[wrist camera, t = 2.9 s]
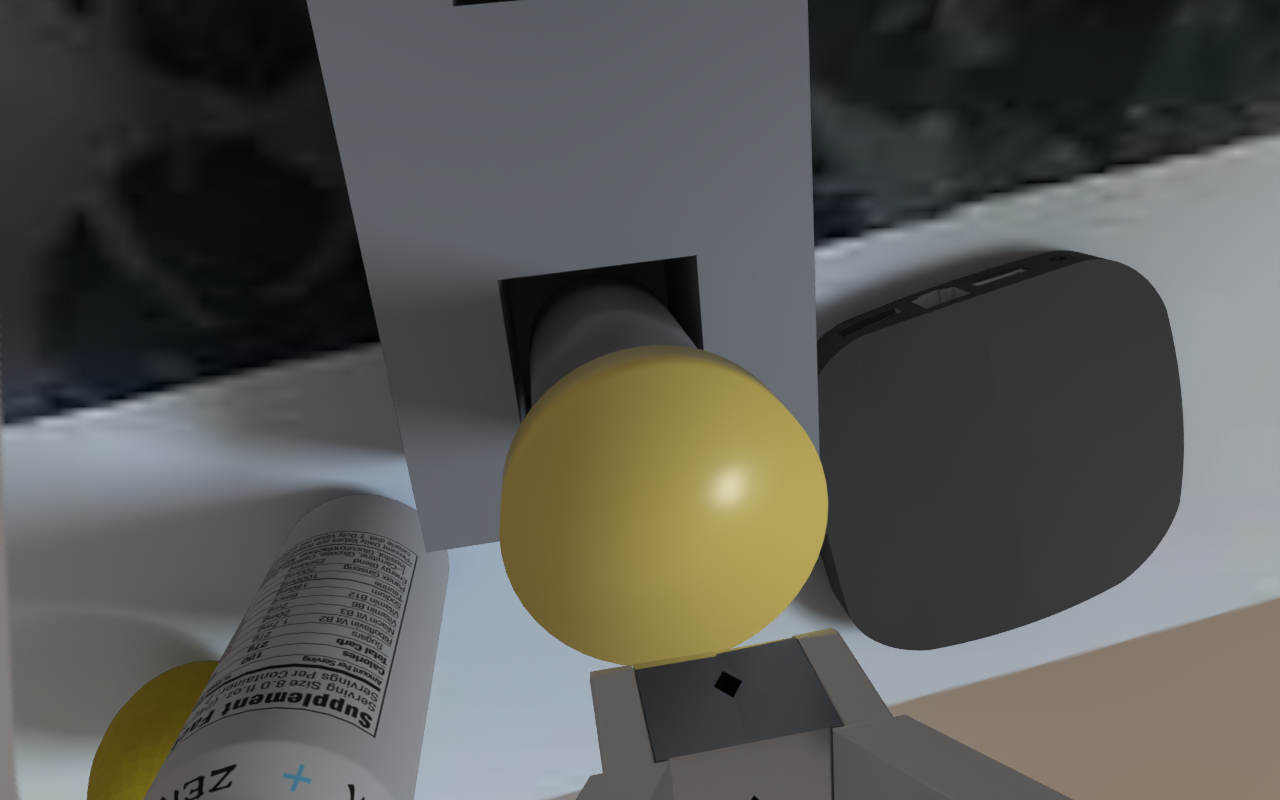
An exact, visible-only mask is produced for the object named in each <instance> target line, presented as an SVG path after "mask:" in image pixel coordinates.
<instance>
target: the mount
mask: <svg viewBox="0 0 1280 800" xmlns="http://www.w3.org/2000/svg"><path fill="white" fill-rule="evenodd" d="M307 5H308V10H309V14H310V19H311V24H312V28H313V33H314V37H315V42H316V47H317V51H318V56H319V60H320V65H321V70H322V74H323V79H324V83H325V88H326V93H327V97H328V102H329V106H330V111H331V116H332V120H333V125H334V130H335V134H336V139H337V143H338V148H339V153H340V157H341V162H342V166H343V171H344V176H345V180H346V185H347V189H348V194H349V199H350V203H351V208H352V212H353V217H354V222H355V226H356V231H357V235H358V240H359V245H360V249H361V254H362V259H363V263H364V268H365V272H366V277H367V282H368V286H369V291H370V295H371V300H372V305H373V309H374V314H375V318H376V323H377V328H378V332H379V337H380V341H381V346H382V351H383V355H384V360H385V364H386V369H387V374H388V378H389V383H390V388H391V392H392V397H393V401H394V406H395V411H396V415H397V420H398V424H399V429H400V434H401V438H402V443H403V447H404V452H405V457H406V461H407V466H408V470H409V475H410V480H411V484H412V489H413V494H414V498H415V503H416V507H417V512H418V517H419V521H420V526H421V530H422V535H423V540H424V544H425V549H426V553H427V552H433V551H440V550H446V549H452V548H459V547H465V546H472V545H478V544H484V543H491V542H497V541H500V535H499V532H500V510H501V490H502V476H503V471H504V465H505V460H506V457H507V454H508V451H509V448H510V445H511V442H512V440H513V438H514V436H515V434H516V432H517V430H518V428H519V426H520V424H521V422H522V421H523V420H524V418H525V417H526V415H527V414H528V412H529V411H530V409H531V408H532V404H531V377H530V351H529V345H530V335H531V330H532V326H533V323H534V320H535V318H536V316H537V314H538V312H539V310H540V309H541V307H542V306H543V304H544V303H545V302H546V301H547V299H548V298H549V297H550V296H551V295H552V294H553V293H555V292H556V291H557V290H558V289H559V288H561V287H562V286H564V285H565V284H567V283H569V282H571V281H573V280H575V279H578V278H581V277H584V276H589V275H594V274H615V275H620V276H625V277H627V278H630V279H633V280H635V281H637V282H639V283H641V284H643V285H644V286H646V287H647V288H649V289H650V290H651V291H652V292H653V293H654V294H656V295H657V296H658V298H659V299H660V300H661V301H662V302H663V304H664V305H665V306H666V308H667V309H668V310H669V312H670V313H671V314H672V316H673V317H674V318H675V320H676V321H677V322H678V324H679V325H680V326H681V328H682V329H683V330H684V331H685V333H686V334H687V335H688V337H689V338H690V339H691V341H692V342H693V343H694V345H695V346H696V347H697V349H701V350H704V351H707V352H710V353H713V354H716V355H719V356H722V357H724V358H726V359H728V360H730V361H732V362H734V363H736V364H738V365H740V366H741V367H742V368H744V369H745V370H747V371H748V372H750V373H751V374H753V375H754V376H755V377H756V378H757V379H759V380H760V381H761V382H762V383H763V384H764V385H765V386H766V387H767V388H768V389H769V390H770V391H771V392H772V393H773V394H774V395H775V396H776V398H777V399H778V400H779V401H780V402H781V403H782V404H783V405H784V406H785V407H786V409H787V410H788V411H789V412H790V413H791V414H792V415H793V417H794V418H795V419H796V420H797V421H798V423H799V424H800V425H801V426H802V428H803V429H804V430H805V432H806V433H807V435H808V437H809V438H810V440H811V442H812V443H813V445H814V447H815V449H816V451H817V454H818V456H819V459H820V452H819V414H818V376H817V338H816V300H815V262H814V224H813V186H812V148H811V110H810V72H809V34H808V0H307Z"/></svg>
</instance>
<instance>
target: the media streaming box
mask: <svg viewBox="0 0 1280 800" xmlns="http://www.w3.org/2000/svg"><path fill="white" fill-rule="evenodd" d="M1016 266H1017V267H1016ZM1006 269H1007V270H1006ZM1003 270H1004V271H1003ZM996 272H997V273H996ZM993 273H994V274H993ZM990 274H991V275H990ZM987 275H988V276H987ZM977 278H978V279H977ZM974 279H975V280H974ZM971 280H972V281H971ZM817 376H818V414H819V452H820V461H821V464H822V467H823V471H824V475H825V479H826V484H827V494H828V518H827V526H826V531H825V536H824V541H823V544H822V547H821V550H820V553H821V557H822V560H823V563H824V566H825V569H826V572H827V575H828V578H829V581H830V584H831V587H832V590H833V592H834V594H835V595H836V597H837V598H838V600H839V601H840V603H841V604H842V606H843V608H844V609H845V611H846V612H847V614H848V615H849V617H850V618H851V620H852V621H853V623H854V624H855V625H856V627H857V628H858V629H859V630H860V631H861V632H862V633H864V634H865V635H866V636H868V637H869V638H871V639H873V640H875V641H877V642H879V643H881V644H884V645H887V646H890V647H894V648H899V649H905V650H932V649H937V648H942V647H947V646H952V645H956V644H961V643H965V642H969V641H973V640H977V639H981V638H985V637H988V636H992V635H995V634H999V633H1002V632H1006V631H1009V630H1012V629H1015V628H1018V627H1021V626H1024V625H1027V624H1030V623H1033V622H1036V621H1038V620H1041V619H1044V618H1046V617H1049V616H1051V615H1054V614H1056V613H1059V612H1061V611H1064V610H1066V609H1068V608H1071V607H1073V606H1075V605H1077V604H1080V603H1082V602H1084V601H1086V600H1088V599H1090V598H1092V597H1094V596H1096V595H1098V594H1100V593H1102V592H1104V591H1106V590H1108V589H1110V588H1112V587H1114V586H1116V585H1117V584H1119V583H1121V582H1122V581H1123V580H1125V579H1126V578H1127V577H1129V576H1130V575H1131V574H1132V573H1133V572H1134V571H1135V570H1137V569H1138V568H1139V567H1140V566H1141V565H1142V564H1143V563H1144V562H1145V561H1146V559H1147V558H1148V557H1149V556H1150V555H1151V554H1152V553H1153V551H1154V550H1155V549H1156V547H1157V546H1158V545H1159V543H1160V542H1161V540H1162V539H1163V537H1164V536H1165V534H1166V533H1167V531H1168V529H1169V527H1170V525H1171V523H1172V521H1173V519H1174V517H1175V514H1176V512H1177V509H1178V506H1179V503H1180V495H1181V487H1182V476H1183V457H1184V428H1183V408H1182V397H1181V386H1180V379H1179V371H1178V364H1177V358H1176V352H1175V346H1174V342H1173V337H1172V332H1171V327H1170V323H1169V318H1168V314H1167V310H1166V307H1165V305H1164V303H1163V301H1162V299H1161V298H1160V296H1159V294H1158V293H1157V291H1156V290H1155V288H1154V287H1153V286H1152V285H1151V284H1150V282H1149V281H1148V280H1147V279H1146V278H1144V277H1143V276H1142V275H1141V274H1140V273H1138V272H1137V271H1136V270H1134V269H1132V268H1130V267H1129V266H1127V265H1124V264H1122V263H1119V262H1115V261H1112V260H1107V259H1103V258H1099V257H1095V256H1091V255H1087V254H1083V253H1079V252H1073V251H1052V252H1049V253H1045V254H1041V255H1037V256H1034V257H1030V258H1027V259H1023V260H1019V261H1016V262H1013V263H1009V264H1006V265H1002V266H999V267H996V268H992V269H989V270H986V271H983V272H980V273H976V274H973V275H970V276H967V277H964V278H961V279H958V280H955V281H952V282H949V283H946V284H943V285H940V286H937V287H934V288H931V289H928V290H926V291H923V292H920V293H917V294H914V295H912V296H909V297H906V298H903V299H901V300H898V301H895V302H893V303H890V304H887V305H885V306H882V307H880V308H877V309H874V310H872V311H869V312H867V313H864V314H862V315H859V316H857V317H854V318H852V319H849V320H847V321H845V322H842V323H841V324H839V325H837V326H836V327H834V328H833V329H831V330H830V331H829V332H828V333H826V334H825V335H824V336H823V337H822V338H821V339H820V340H819V341H818V342H817Z"/></svg>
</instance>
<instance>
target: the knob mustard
mask: <svg viewBox="0 0 1280 800" xmlns="http://www.w3.org/2000/svg"><path fill="white" fill-rule="evenodd" d="M529 351H530V377H531V404H532V408H531V409H530V411H529V412H528V414H527V415H526V417H525V418H524V420H523V421H522V422H521V424H520V426H519V428H518V430H517V432H516V434H515V436H514V438H513V440H512V442H511V445H510V448H509V451H508V454H507V457H506V460H505V465H504V471H503V476H502V490H501V510H500V532H499V535H500V545H501V554H502V558H503V562H504V565H505V569H506V573H507V575H508V578H509V580H510V582H511V585H512V587H513V589H514V591H515V593H516V594H517V596H518V598H519V599H520V601H521V603H522V604H523V606H524V607H525V608H526V610H527V611H528V612H529V613H530V614H531V616H532V617H533V618H534V619H535V620H536V621H537V622H538V623H539V624H540V625H541V626H542V627H543V628H544V629H545V630H546V631H548V632H549V633H550V634H551V635H553V636H554V637H555V638H557V639H558V640H560V641H561V642H563V643H564V644H566V645H567V646H569V647H571V648H573V649H575V650H577V651H579V652H581V653H583V654H586V655H589V656H591V657H594V658H597V659H600V660H603V661H607V662H612V663H616V664H620V665H631V666H633V664H639V663H645V662H651V661H658V660H664V659H670V658H677V657H683V656H689V655H696V654H702V653H708V652H718V651H723V650H728V649H730V648H733V647H735V646H737V645H739V644H741V643H742V642H744V641H745V640H747V639H749V638H750V637H752V636H754V635H755V634H757V633H758V632H759V631H761V630H762V629H763V628H764V627H766V626H767V625H768V624H770V623H771V622H772V621H773V620H774V619H775V618H776V617H777V616H778V615H779V614H780V613H781V612H782V611H784V610H785V609H786V608H787V606H788V605H789V604H790V603H791V601H792V600H793V599H794V598H795V597H796V595H797V594H798V593H799V591H800V590H801V588H802V587H803V585H804V584H805V582H806V581H807V579H808V577H809V576H810V574H811V572H812V569H813V567H814V565H815V563H816V561H817V559H818V556H819V553H820V550H821V547H822V544H823V541H824V536H825V531H826V526H827V518H828V494H827V484H826V479H825V475H824V471H823V467H822V464H821V461H820V459H819V456H818V454H817V451H816V449H815V447H814V445H813V443H812V442H811V440H810V438H809V437H808V435H807V433H806V432H805V430H804V429H803V428H802V426H801V425H800V424H799V423H798V421H797V420H796V419H795V418H794V417H793V415H792V414H791V413H790V412H789V411H788V410H787V409H786V407H785V406H784V405H783V404H782V403H781V402H780V401H779V400H778V399H777V398H776V396H775V395H774V394H773V393H772V392H771V391H770V390H769V389H768V388H767V387H766V386H765V385H764V384H763V383H762V382H761V381H760V380H759V379H757V378H756V377H755V376H754V375H753V374H751V373H750V372H748V371H747V370H745V369H744V368H742V367H741V366H740V365H738V364H736V363H734V362H732V361H730V360H728V359H726V358H724V357H722V356H719V355H716V354H713V353H710V352H707V351H704V350H701V349H697V347H696V346H695V345H694V343H693V342H692V341H691V339H690V338H689V337H688V335H687V334H686V333H685V331H684V330H683V329H682V328H681V326H680V325H679V324H678V322H677V321H676V320H675V318H674V317H673V316H672V314H671V313H670V312H669V310H668V309H667V308H666V306H665V305H664V304H663V302H662V301H661V300H660V299H659V298H658V296H657V295H656V294H654V293H653V292H652V291H651V290H650V289H649V288H647V287H646V286H644V285H643V284H641V283H639V282H637V281H635V280H633V279H630V278H627V277H625V276H620V275H615V274H594V275H589V276H584V277H581V278H578V279H575V280H573V281H571V282H569V283H567V284H565V285H564V286H562V287H561V288H559V289H558V290H557V291H556V292H555V293H553V294H552V295H551V296H550V297H549V298H548V299H547V301H546V302H545V303H544V304H543V306H542V307H541V309H540V310H539V312H538V314H537V316H536V318H535V320H534V323H533V326H532V330H531V335H530V345H529Z"/></svg>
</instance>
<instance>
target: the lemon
mask: <svg viewBox="0 0 1280 800" xmlns="http://www.w3.org/2000/svg"><path fill="white" fill-rule="evenodd" d="M218 663H219V661H212V660H211V661H200V662H192V663H188V664H185V665H182V666H179V667H176V668H172V669H170V670H168V671H166V672H165V673H163V674H161V675H160V676H158V677H156V678H154V679H153V680H151V681H149V682H148V683H147V684H145V685H144V686H143V687H142V688H141V689H140V690H139V691H138V692H137V693H136V694H135V695H134V696H133V697H132V698H131V699H130V700H129V701H128V702H127V703H126V704H125V705H124V706H123V707H122V708H121V710H120V711H119V712H118V713H117V715H116V716H115V717H114V719H113V721H112V722H111V724H110V726H109V727H108V729H107V731H106V733H105V735H104V737H103V739H102V741H101V743H100V745H99V748H98V750H97V752H96V755H95V758H94V760H93V764H92V767H91V772H90V777H89V785H88V792H87V800H143V799H144V797H145V796H146V794H147V792H148V790H149V788H150V786H151V785H152V783H153V781H154V779H155V777H156V776H157V774H158V772H159V770H160V768H161V767H162V765H163V763H164V761H165V759H166V757H167V756H168V754H169V752H170V750H171V748H172V747H173V745H174V743H175V741H176V739H177V738H178V736H179V734H180V732H181V730H182V728H183V727H184V725H185V723H186V721H187V719H188V718H189V716H190V714H191V712H192V710H193V708H194V707H195V705H196V703H197V701H198V699H199V698H200V696H201V694H202V692H203V690H204V689H205V687H206V685H207V683H208V681H209V679H210V678H211V676H212V674H213V672H214V670H215V669H216V667H217V665H218Z"/></svg>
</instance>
